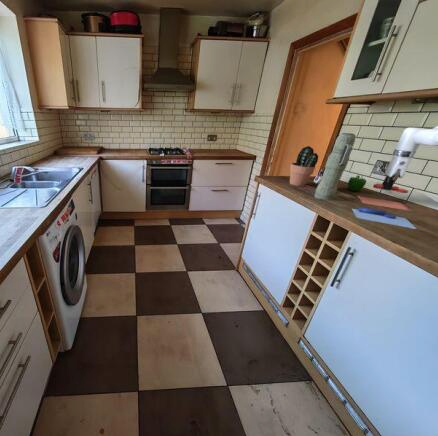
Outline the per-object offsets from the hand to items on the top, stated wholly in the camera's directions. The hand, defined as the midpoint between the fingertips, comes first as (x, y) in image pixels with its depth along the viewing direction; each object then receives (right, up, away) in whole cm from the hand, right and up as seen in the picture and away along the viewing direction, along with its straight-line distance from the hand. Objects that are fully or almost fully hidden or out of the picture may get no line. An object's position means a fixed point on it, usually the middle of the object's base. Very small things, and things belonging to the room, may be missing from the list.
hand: (385, 188), depth 122 cm
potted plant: (-26, +7, +33) cm, 42 cm away
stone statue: (-27, -5, +8) cm, 29 cm away
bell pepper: (+4, +2, +24) cm, 24 cm away
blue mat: (-19, -16, -16) cm, 29 cm away
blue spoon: (-17, -14, -12) cm, 26 cm away
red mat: (+2, -8, +3) cm, 9 cm away
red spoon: (+2, -1, -1) cm, 2 cm away
